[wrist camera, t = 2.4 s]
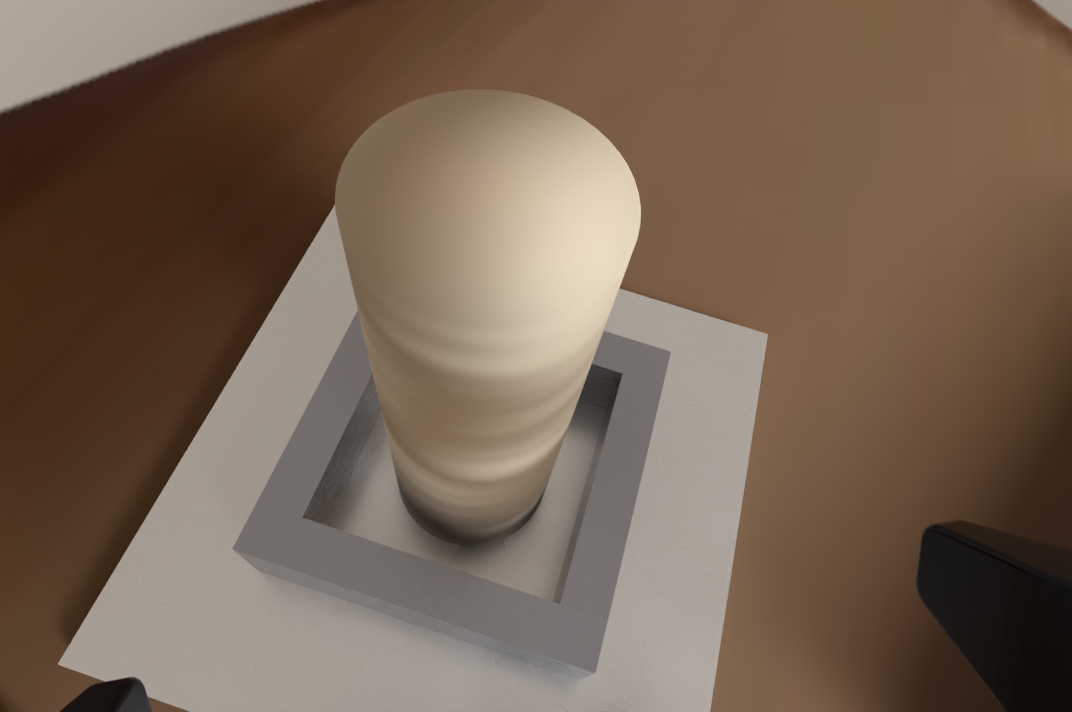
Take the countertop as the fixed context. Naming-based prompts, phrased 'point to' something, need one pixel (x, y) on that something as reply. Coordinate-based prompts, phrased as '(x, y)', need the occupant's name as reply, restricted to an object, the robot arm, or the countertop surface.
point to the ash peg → (482, 292)
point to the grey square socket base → (428, 562)
